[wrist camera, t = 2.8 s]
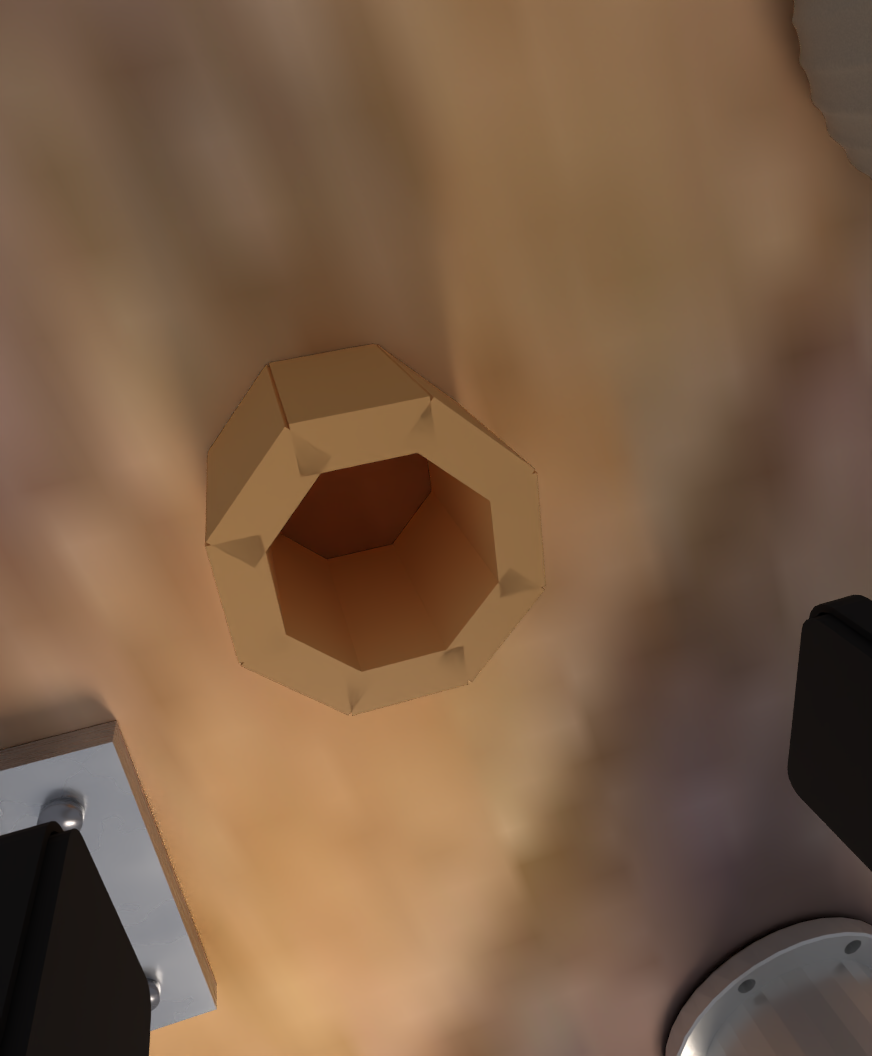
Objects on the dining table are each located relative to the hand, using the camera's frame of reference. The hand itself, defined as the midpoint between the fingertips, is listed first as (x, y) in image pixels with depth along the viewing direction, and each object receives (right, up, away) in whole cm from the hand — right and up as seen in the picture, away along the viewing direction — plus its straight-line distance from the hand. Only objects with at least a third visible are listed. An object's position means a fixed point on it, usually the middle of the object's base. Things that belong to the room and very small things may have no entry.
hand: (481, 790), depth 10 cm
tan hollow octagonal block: (-3, +5, +12) cm, 13 cm away
